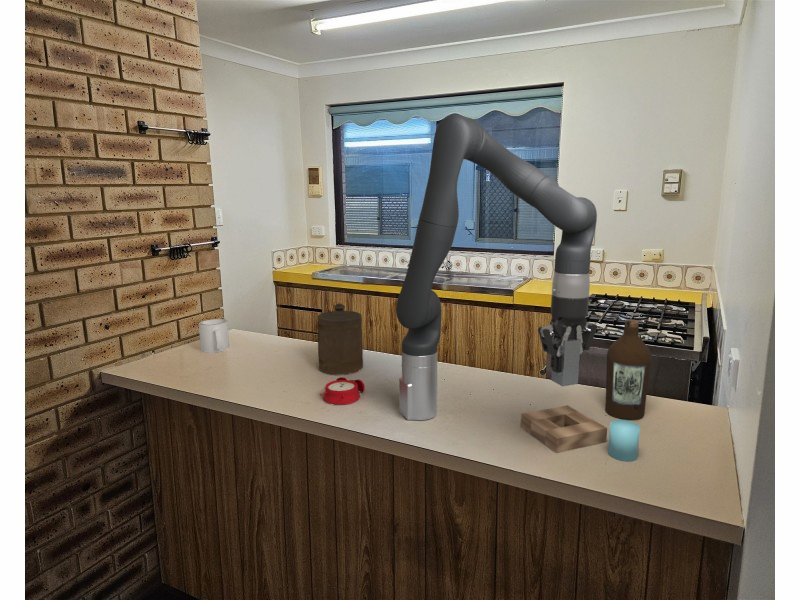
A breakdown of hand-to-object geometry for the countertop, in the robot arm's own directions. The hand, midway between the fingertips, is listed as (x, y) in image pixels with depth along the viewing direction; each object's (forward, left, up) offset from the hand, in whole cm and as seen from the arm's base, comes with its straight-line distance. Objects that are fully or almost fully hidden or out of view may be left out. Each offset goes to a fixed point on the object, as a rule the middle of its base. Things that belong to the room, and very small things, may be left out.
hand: (565, 369), depth 112 cm
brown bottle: (+28, +10, -19) cm, 36 cm away
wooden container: (-32, +74, -19) cm, 83 cm away
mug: (-71, +112, -19) cm, 134 cm away
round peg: (+11, -7, -19) cm, 23 cm away
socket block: (+5, +6, -19) cm, 21 cm away
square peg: (0, 0, -3) cm, 3 cm away
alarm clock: (-37, +50, -19) cm, 65 cm away
